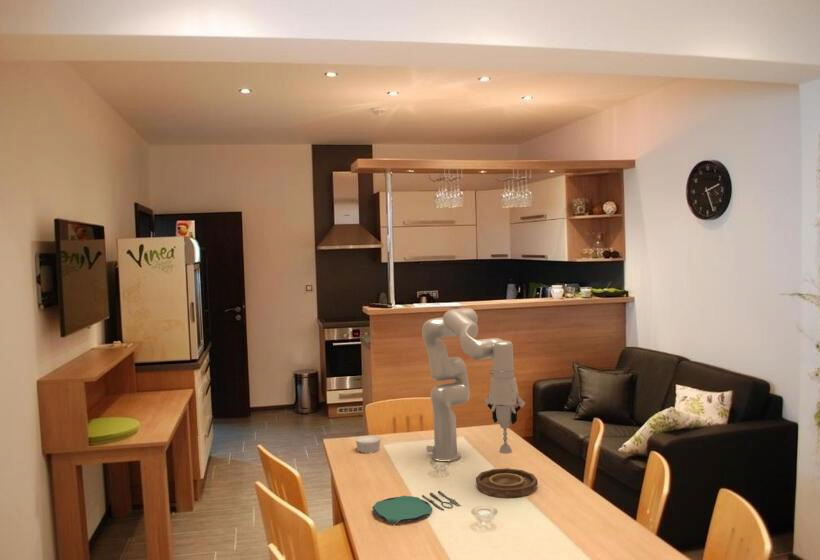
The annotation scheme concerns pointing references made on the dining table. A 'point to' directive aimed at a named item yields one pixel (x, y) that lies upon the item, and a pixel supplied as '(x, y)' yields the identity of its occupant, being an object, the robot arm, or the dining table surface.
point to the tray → (506, 483)
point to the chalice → (504, 425)
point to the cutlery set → (407, 508)
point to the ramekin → (368, 443)
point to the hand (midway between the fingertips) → (504, 421)
